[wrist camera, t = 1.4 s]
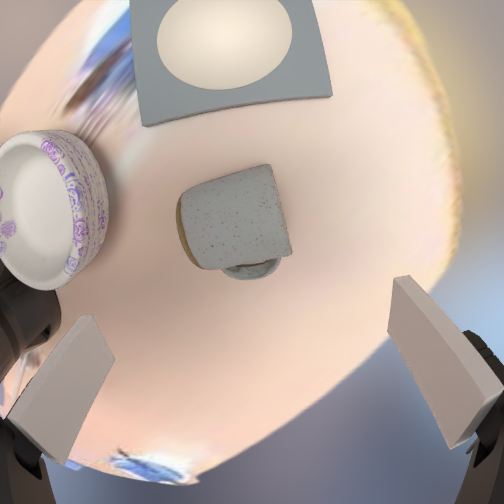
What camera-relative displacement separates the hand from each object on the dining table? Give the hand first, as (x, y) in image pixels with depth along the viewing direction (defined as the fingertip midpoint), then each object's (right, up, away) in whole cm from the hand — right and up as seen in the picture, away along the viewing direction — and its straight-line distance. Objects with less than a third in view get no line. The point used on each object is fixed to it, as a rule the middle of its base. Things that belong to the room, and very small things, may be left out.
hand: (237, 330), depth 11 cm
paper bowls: (-20, +9, +15) cm, 26 cm away
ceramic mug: (0, +6, +16) cm, 17 cm away
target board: (-2, +23, +9) cm, 25 cm away
